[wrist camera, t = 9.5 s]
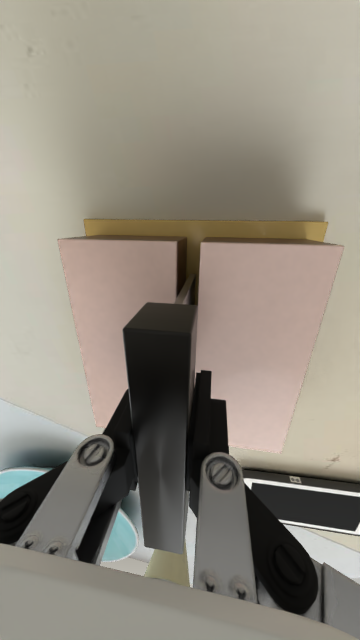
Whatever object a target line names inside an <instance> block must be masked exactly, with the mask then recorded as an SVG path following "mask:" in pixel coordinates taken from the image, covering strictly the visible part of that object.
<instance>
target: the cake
mask: <svg viewBox="0 0 360 640" xmlns="http://www.w3.org/2000/svg"><path fill="white" fill-rule="evenodd" d="M84 225H85V232H86V236H83V237H73V238H64V239H58V244H59V249H60V254H61V259H62V263H63V268H64V273H65V278H66V283H67V288H68V292H69V297H70V302H71V307H72V312H73V317H74V321H75V326H76V331H77V336H78V341H79V346H80V350H81V355H82V360H83V365H84V370H85V375H86V379H87V384H88V389H89V394H90V399H91V404H92V408H93V413H94V418H95V423H96V427H102V428H106V427H107V425H108V423H109V421H110V419H111V417H112V416H113V414H114V412H115V410H116V408H117V406H118V404H119V403H120V401H121V399H122V397H123V395H124V393H125V391H126V390H127V389H128V380H127V371H126V361H125V351H124V341H123V332H122V330H123V328H124V326H125V325H126V324H127V323H128V322H129V321H130V320H131V319H132V318H133V317H134V316H135V314H136V313H137V312H138V311H139V310H140V309H141V308H142V307H143V306H144V305H145V303H147V302H154V303H170V304H174V302H175V301H176V299H177V297H178V295H179V293H180V291H181V290H182V288H183V286H184V284H185V282H186V280H187V279H188V277H189V275H190V274H196V284H195V305H197V306H198V322H197V342H196V362H195V379H196V372H198V373H201V370H207V371H212V376H211V398H212V399H221V400H226V409H227V427H228V446H232V447H239V448H246V449H253V450H259V451H266V452H273V453H280V454H281V453H282V450H283V446H284V443H285V440H286V436H287V433H288V430H289V427H290V423H291V420H292V417H293V413H294V410H295V407H296V404H297V400H298V397H299V394H300V390H301V387H302V384H303V381H304V377H305V374H306V371H307V367H308V364H309V361H310V358H311V354H312V351H313V348H314V344H315V341H316V338H317V335H318V331H319V328H320V325H321V321H322V318H323V315H324V312H325V308H326V305H327V302H328V298H329V295H330V292H331V289H332V285H333V282H334V279H335V275H336V272H337V269H338V266H339V262H340V259H341V256H342V252H343V249H344V246H342V245H336V244H330V243H325V242H323V240H324V236H325V233H326V229H327V225H328V222H308V221H210V220H112V219H84ZM194 387H195V383H194Z"/></svg>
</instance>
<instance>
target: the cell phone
mask: <svg viewBox="0 0 360 640" xmlns="http://www.w3.org/2000/svg"><path fill="white" fill-rule="evenodd" d="M242 472H243V478H244V483H245V484H246V485H247V486H248V487H249V488H250V489H251V490H252V491H253V493H254V494H255V495H256V496H257V497H258V498H259V499H260V500H261V501H262V502H263V503H264V505H265V506H266V507H267V508H268V509H269V510H270V511H271V512H272V513H273V514H274V515H275V517H276V518H277V519H278V520H279V521H280V522H281V523H282V524H286V525H292V526H298V527H304V528H311V529H317V530H323V531H329V532H335V533H342V534H348V535H354V536H360V484H353V483H345V482H337V481H329V480H321V479H313V478H305V477H298V476H289V475H282V474H275V473H267V472H259V471H251V470H242Z"/></svg>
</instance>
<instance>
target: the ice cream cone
mask: <svg viewBox="0 0 360 640" xmlns="http://www.w3.org/2000/svg"><path fill="white" fill-rule="evenodd" d="M144 576H145V577H149V578H153V579H158V580H162V581H166V582H170V583H174V584H178V585H182V586H187V587H190V583H189V573H188V561H187V551H186V541H185V542H184V552H183V554H182V555H181V554H176V553H172V552H167V551H163V550H158V549H155V550H154V553H153V555H152V557H151V560H150V562H149V565H148V567H147V570H146V572H145V575H144Z"/></svg>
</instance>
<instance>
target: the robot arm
mask: <svg viewBox="0 0 360 640" xmlns="http://www.w3.org/2000/svg"><path fill="white" fill-rule="evenodd" d="M211 376H212V371H207V370H201V373H198V372H196V379H195V387H194V400H193V407H192V415H191V423H190V430H189V439H188V458H187V484H186V491H190V498H189V507H190V508H191V510H192V511H193V513H194V514H195V516H196V517H197V528H196V544H195V561H194V578H193V588H191V587H187V586H182V585H178V584H174V583H170V582H166V581H162V580H158V579H153V578H149V577H145V576H141V575H136V574H132V573H128V572H123V571H119V570H115V569H111V568H107V567H102V566H100V563H101V561H102V558H103V555H104V552H105V549H106V546H107V543H108V540H109V537H110V534H111V531H112V529H113V526H114V523H115V520H116V517H117V514H118V511H119V508H120V505H121V501H122V499H123V498H124V497H126V496H127V495H128V494H129V491H130V490H133V491H135V490H136V486H137V483H138V478H137V468H136V459H135V449H134V439H133V429H132V419H131V410H130V400H129V390H128V389H127V390H126V391H125V393H124V395H123V397H122V399H121V401H120V403H119V404H118V406H117V408H116V410H115V412H114V414H113V416H112V417H111V419H110V421H109V423H108V425H107V427H106V429H105V430H104V432H103V434H97V435H93V436H90V437H88V438H86V439H85V440H84V441H82V442H81V443H80V444H79V446H78V447H77V448H76V450H75V451H74V453H73V454H72V456H71V458H70V459H69V461H67V462H65V463H63V464H61V465H59V466H58V467H56V468H54V469H52V470H50V471H48V472H46V473H45V474H43V475H41V476H39V477H37V478H35V479H33V480H32V481H30V482H28V483H26V484H24V485H22V486H21V487H19V488H17V489H15V490H14V491H12V492H11V493H9V494H8V495H7V496H6V497H4V498H2V499H0V640H360V585H359V584H358V583H356V582H354V581H353V580H351V579H350V578H348V577H347V576H345V575H343V574H342V573H340V572H339V571H337V570H336V569H334V568H332V567H331V566H329V565H328V564H326V563H323V565H322V564H320V563H319V562H317V561H315V560H314V559H312V558H311V557H310V556H309V554H308V553H307V552H306V550H305V549H304V548H303V546H302V545H301V544H300V543H299V542H298V541H297V539H296V538H295V537H294V536H293V535H292V534H291V533H290V532H289V531H288V530H287V529H286V527H285V526H284V525H283V524H282V523H281V522H280V521H279V520H278V519H277V518H276V517H275V515H274V514H273V513H272V512H271V511H270V510H269V509H268V508H267V507H266V506H265V505H264V503H263V502H262V501H261V500H260V499H259V498H258V497H257V496H256V495H255V494H254V493H253V491H252V490H251V489H250V488H249V487H248V486H247V485H246V484H245V483H244V478H243V472H242V469H241V467H240V465H239V463H238V462H237V461H236V460H235V459H234V458H233V457H232V456H230V455H229V446H228V427H227V409H226V400H221V399H212V398H211Z"/></svg>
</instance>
